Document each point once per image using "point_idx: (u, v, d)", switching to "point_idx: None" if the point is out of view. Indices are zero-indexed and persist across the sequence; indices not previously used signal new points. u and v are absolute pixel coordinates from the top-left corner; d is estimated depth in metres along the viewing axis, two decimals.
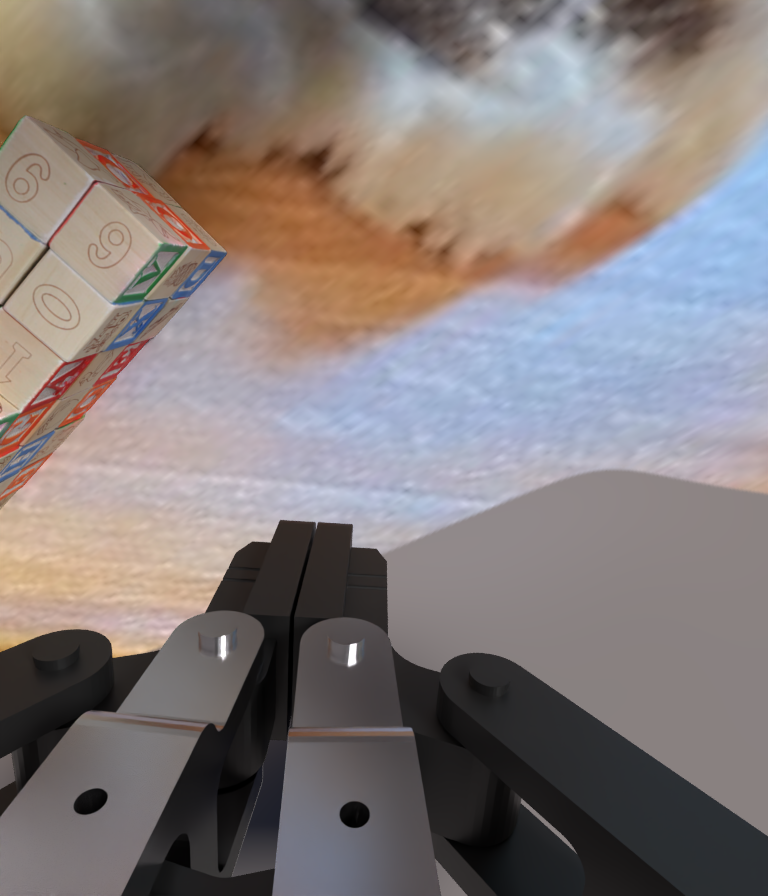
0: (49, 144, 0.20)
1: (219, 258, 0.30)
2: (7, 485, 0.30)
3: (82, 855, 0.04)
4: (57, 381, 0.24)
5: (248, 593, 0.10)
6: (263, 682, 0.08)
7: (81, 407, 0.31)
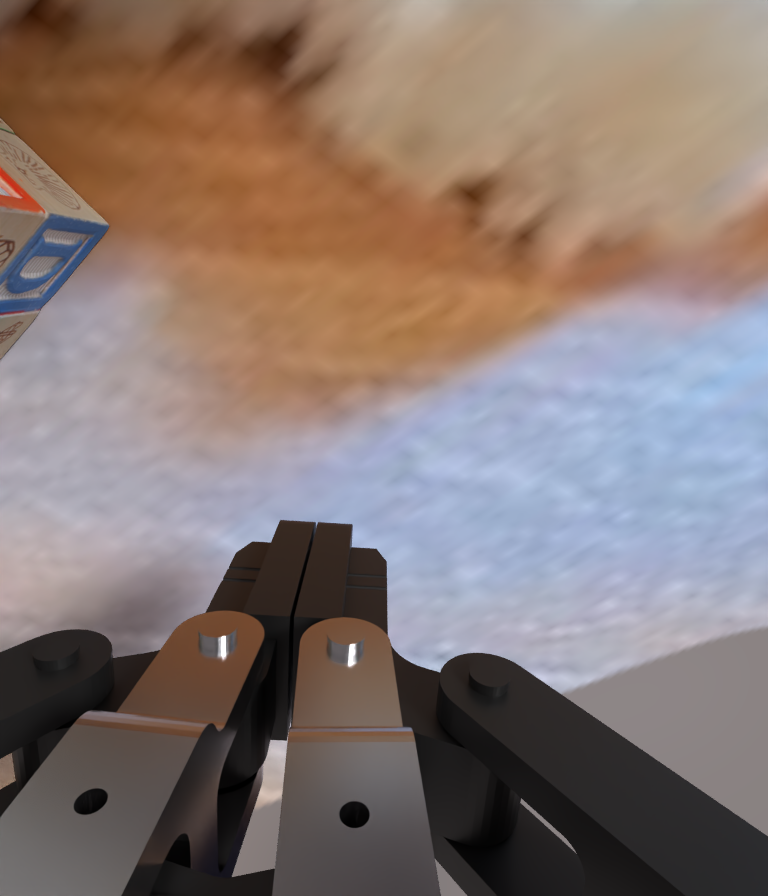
0: None
1: (91, 236, 0.15)
2: None
3: (81, 855, 0.04)
4: None
5: (248, 593, 0.10)
6: (263, 682, 0.08)
7: None
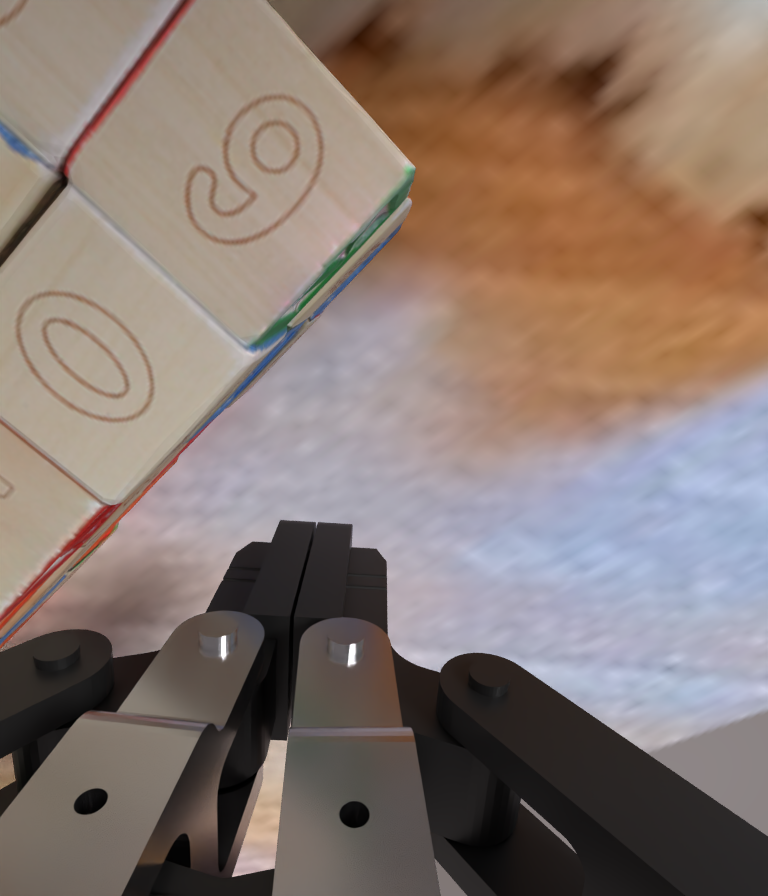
0: None
1: (388, 238, 0.15)
2: None
3: (82, 855, 0.04)
4: (81, 537, 0.09)
5: (248, 593, 0.10)
6: (263, 682, 0.08)
7: (115, 521, 0.16)
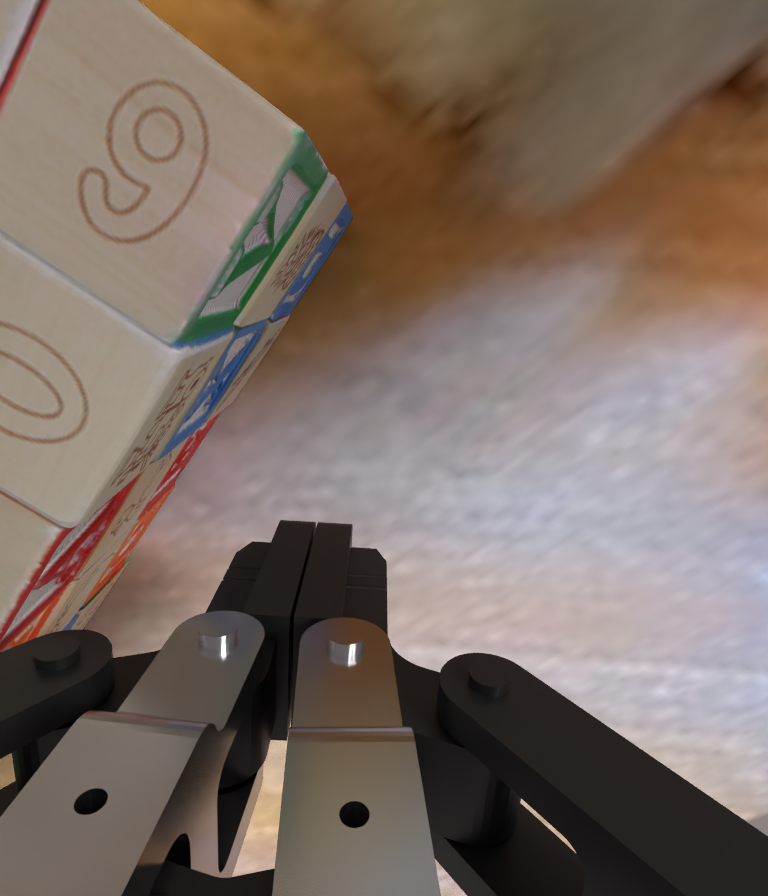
0: None
1: (342, 228, 0.15)
2: None
3: (82, 855, 0.04)
4: (57, 567, 0.09)
5: (248, 593, 0.10)
6: (263, 682, 0.08)
7: (121, 554, 0.16)
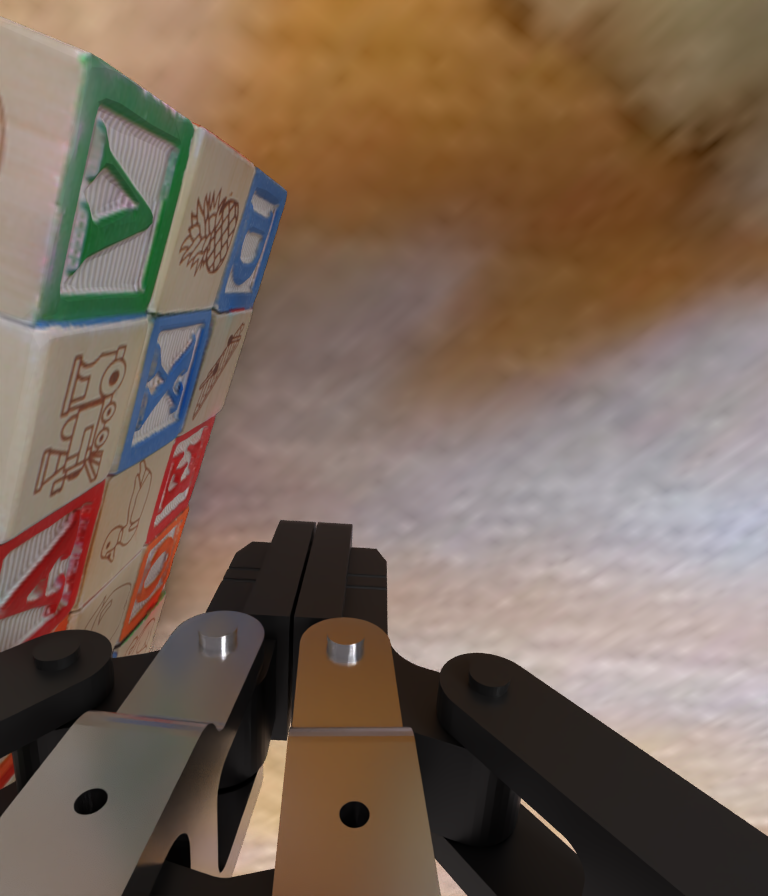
0: None
1: (277, 206, 0.15)
2: None
3: (81, 855, 0.04)
4: (22, 593, 0.09)
5: (248, 593, 0.10)
6: (263, 682, 0.08)
7: (148, 586, 0.16)
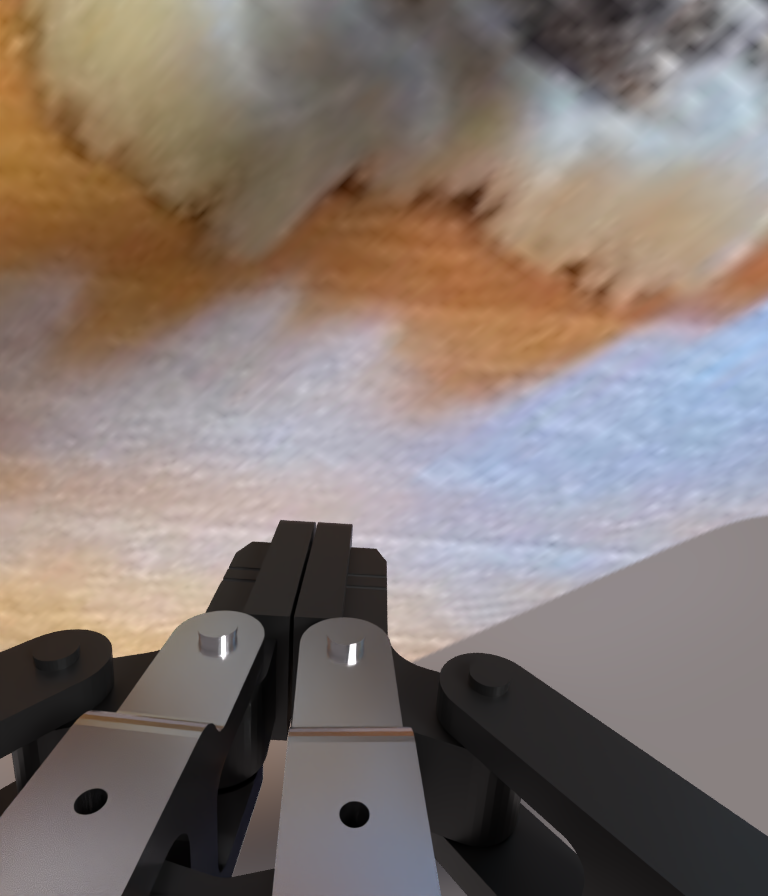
0: None
1: None
2: None
3: (82, 855, 0.04)
4: None
5: (248, 593, 0.10)
6: (263, 682, 0.08)
7: None
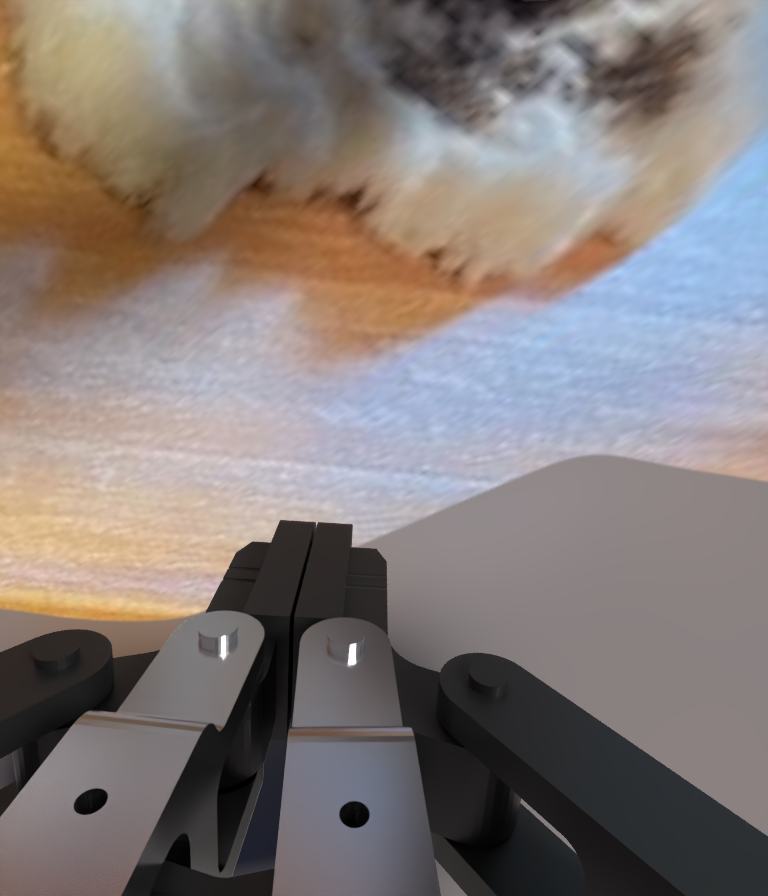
0: None
1: None
2: None
3: (82, 855, 0.04)
4: None
5: (248, 593, 0.10)
6: (263, 682, 0.08)
7: None
